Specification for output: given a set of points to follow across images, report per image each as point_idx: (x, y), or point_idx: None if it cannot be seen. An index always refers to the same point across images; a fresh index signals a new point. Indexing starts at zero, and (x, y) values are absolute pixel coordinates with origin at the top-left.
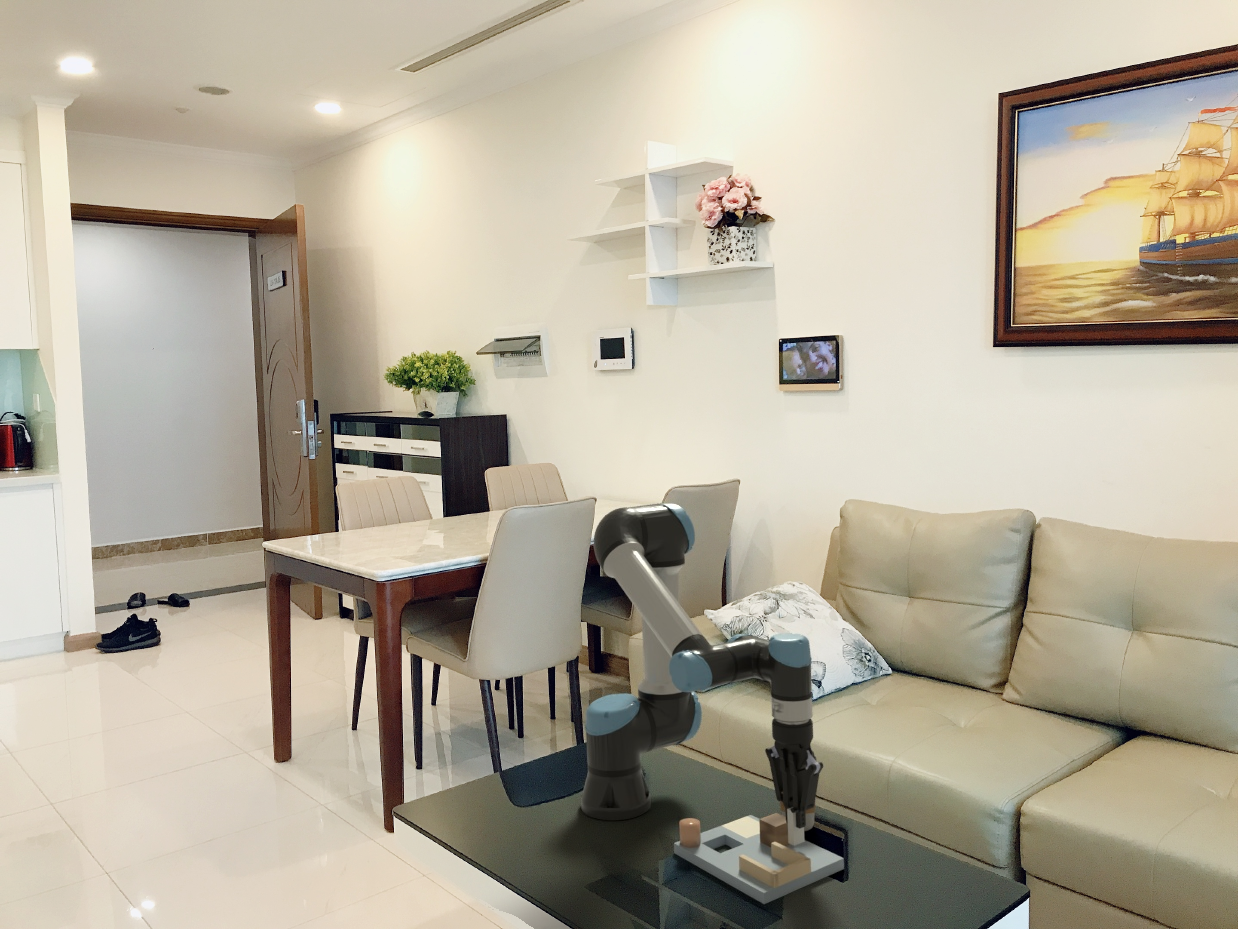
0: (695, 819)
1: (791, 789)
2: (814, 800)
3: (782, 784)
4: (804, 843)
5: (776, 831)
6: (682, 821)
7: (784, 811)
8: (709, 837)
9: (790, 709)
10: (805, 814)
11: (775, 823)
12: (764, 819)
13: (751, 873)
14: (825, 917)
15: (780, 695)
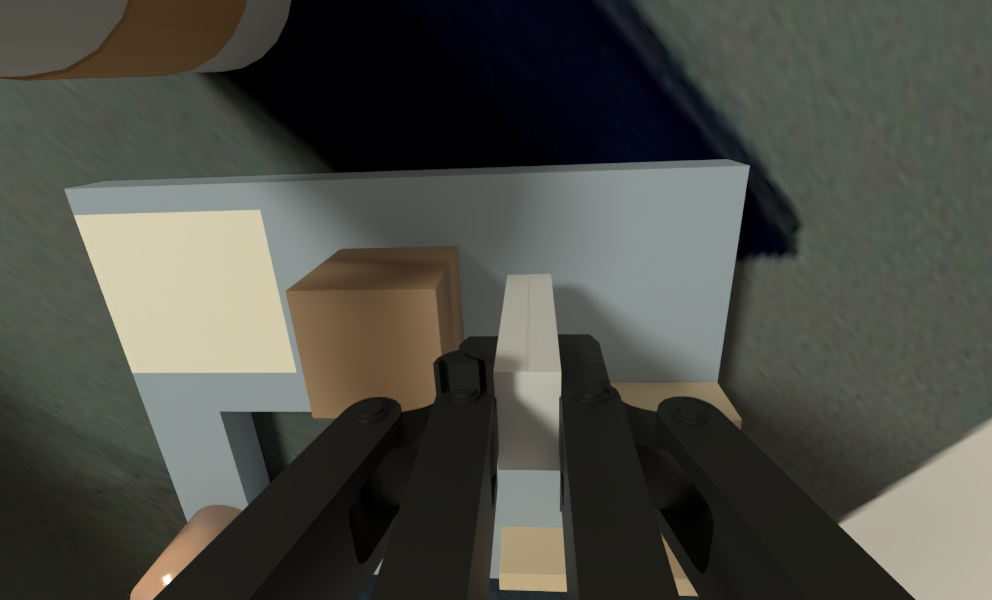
0: (154, 581)
1: (485, 557)
2: (764, 463)
3: (341, 567)
4: (490, 204)
5: None
6: None
7: (157, 75)
8: (218, 469)
9: None
10: (608, 379)
11: (410, 393)
12: (330, 401)
13: None
14: (889, 477)
15: None
